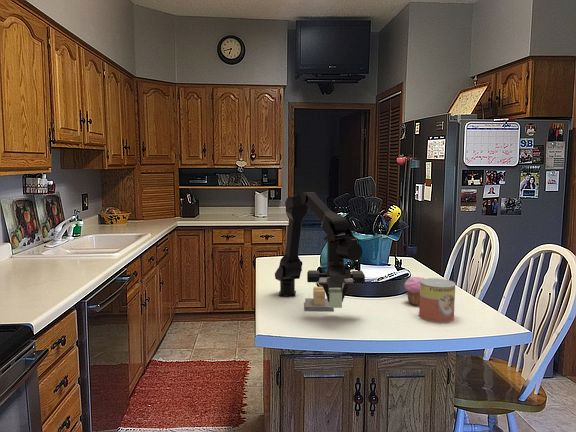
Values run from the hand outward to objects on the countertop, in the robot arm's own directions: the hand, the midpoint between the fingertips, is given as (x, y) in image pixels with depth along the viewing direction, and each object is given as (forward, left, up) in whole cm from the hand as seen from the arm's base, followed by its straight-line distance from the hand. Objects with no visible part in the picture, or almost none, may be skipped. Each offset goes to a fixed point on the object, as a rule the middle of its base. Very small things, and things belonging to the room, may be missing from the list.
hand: (335, 301), depth 154 cm
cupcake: (-17, +31, -6) cm, 36 cm away
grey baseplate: (-12, -5, -6) cm, 14 cm away
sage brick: (0, 0, -1) cm, 1 cm away
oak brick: (-12, -5, -4) cm, 14 cm away
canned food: (-2, +34, -6) cm, 35 cm away
